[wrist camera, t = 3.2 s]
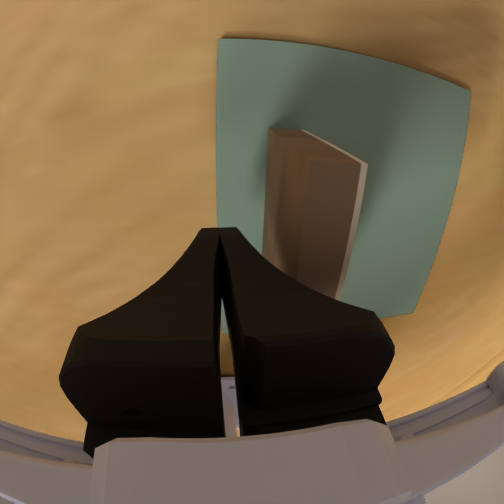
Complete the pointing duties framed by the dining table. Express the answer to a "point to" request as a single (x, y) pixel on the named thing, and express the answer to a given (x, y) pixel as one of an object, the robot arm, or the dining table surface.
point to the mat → (352, 141)
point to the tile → (311, 208)
